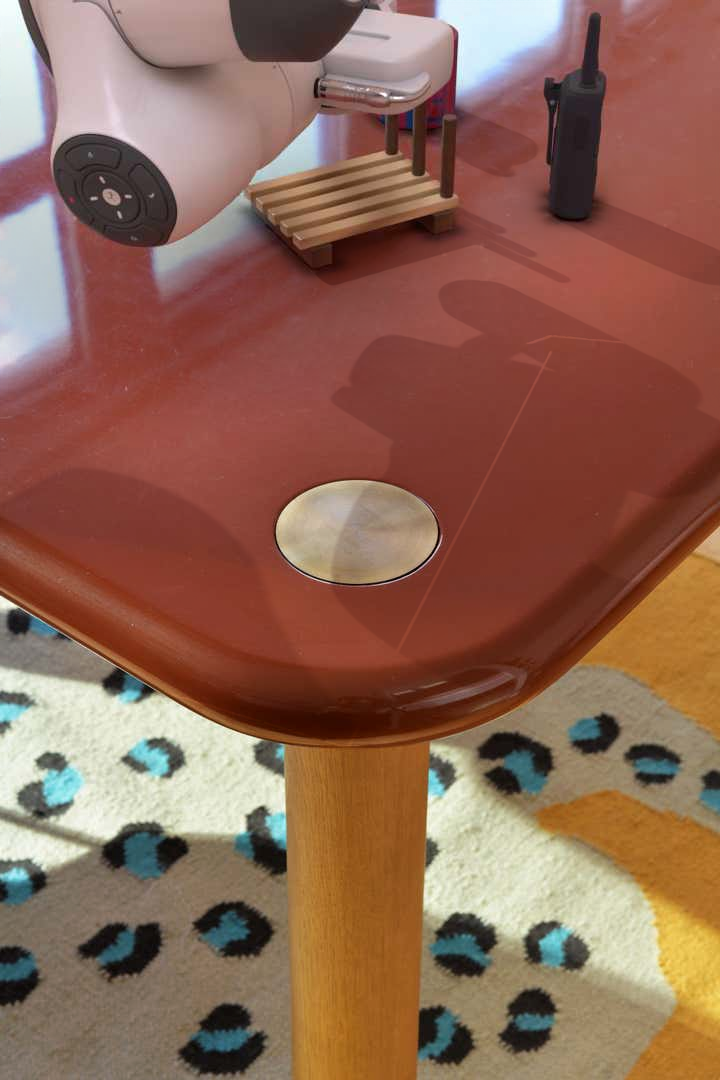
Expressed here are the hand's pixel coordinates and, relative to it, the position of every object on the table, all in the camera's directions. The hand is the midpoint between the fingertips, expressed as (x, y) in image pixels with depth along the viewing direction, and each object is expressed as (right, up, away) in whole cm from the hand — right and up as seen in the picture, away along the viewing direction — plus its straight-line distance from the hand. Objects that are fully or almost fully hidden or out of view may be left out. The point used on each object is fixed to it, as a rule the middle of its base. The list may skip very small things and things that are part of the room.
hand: (337, 1), depth 90 cm
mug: (+6, -1, +24) cm, 25 cm away
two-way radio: (+17, -11, +13) cm, 24 cm away
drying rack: (+1, -12, +11) cm, 16 cm away
